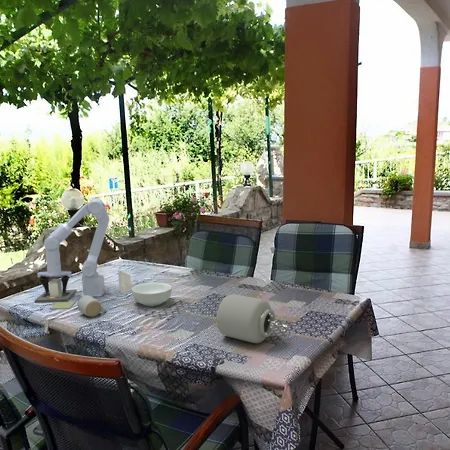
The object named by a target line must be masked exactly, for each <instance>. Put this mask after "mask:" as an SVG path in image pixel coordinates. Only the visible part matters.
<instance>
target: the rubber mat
mask: <svg viewBox="0 0 450 450" xmlns="http://www.w3.org/2000/svg"><path fill="white" fill-rule="evenodd" d="M75 304H76V301H67V302H54V304H53V305H52V306H51V307H50V308H49V309H50V310H71V308H72V307H73V306H74V305H75Z"/></svg>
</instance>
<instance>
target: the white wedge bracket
mask: <svg viewBox="0 0 450 450" xmlns="http://www.w3.org/2000/svg"><path fill="white" fill-rule="evenodd" d="M117 274H118V286H119V287H118V291H119V292H121V293H124V294H125V293H128V292H132V288H133V287H134V286H135V283H134V282H132V281H131V278H132V277H131V274H128V272H127V273H126V272H124V271H121V270H118V272H117Z"/></svg>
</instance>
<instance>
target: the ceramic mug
mask: <svg viewBox="0 0 450 450" xmlns="http://www.w3.org/2000/svg"><path fill="white" fill-rule="evenodd" d="M77 309H78V311H79V312H80V313H82V314H84V315H85V316H86V317H90V318H93V317H94V318H95V317H97V316H99V314H100V313H106V312H107V307H104V306H102V304H101V303H100V301H99V300H97V299H96V298H95V297H92V296H89V295H86V296H83V297H80V298H79V300H78V302H77Z"/></svg>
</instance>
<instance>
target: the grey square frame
mask: <svg viewBox="0 0 450 450" xmlns="http://www.w3.org/2000/svg"><path fill="white" fill-rule="evenodd" d="M77 292H78V291H77V289H66V292H65V293H63V289H62V296H61V297H50V289H49V292H48V293H46V291H45V290H44V292H42V294H39V296H38V297H36V298H35V299H34V303H35V304H38V303H41V304H43V303H46V304H47V303H56V302H69V300H70V299H72V298H73V297H74V295H75V294H77Z"/></svg>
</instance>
